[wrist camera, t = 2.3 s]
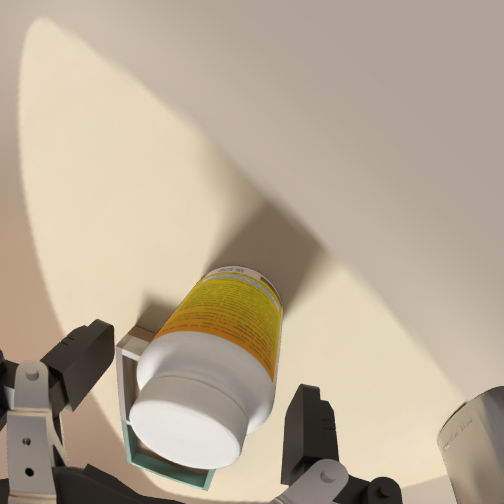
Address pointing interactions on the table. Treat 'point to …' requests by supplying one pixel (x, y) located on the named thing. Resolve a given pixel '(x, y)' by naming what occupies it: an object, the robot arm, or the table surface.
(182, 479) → the divided sorting tray
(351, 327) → the table surface
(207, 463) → the supplement bottle
